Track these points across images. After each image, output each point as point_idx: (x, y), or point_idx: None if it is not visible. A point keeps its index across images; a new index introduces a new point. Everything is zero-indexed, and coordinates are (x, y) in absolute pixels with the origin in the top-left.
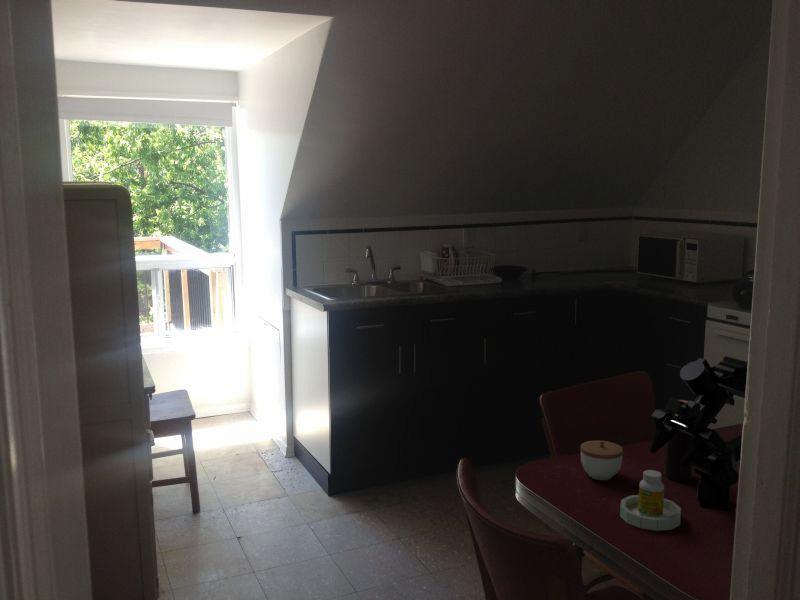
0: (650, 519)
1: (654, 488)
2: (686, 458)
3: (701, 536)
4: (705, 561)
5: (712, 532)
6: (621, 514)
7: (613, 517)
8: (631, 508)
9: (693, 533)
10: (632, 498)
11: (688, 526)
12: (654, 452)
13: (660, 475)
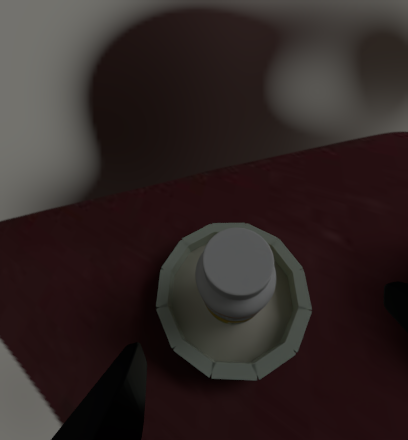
0: (170, 255)
1: (198, 261)
2: (84, 405)
3: None
4: (30, 304)
5: None
6: None
7: (239, 220)
8: None
9: None
10: (290, 270)
11: (165, 368)
12: (393, 314)
13: (211, 279)
